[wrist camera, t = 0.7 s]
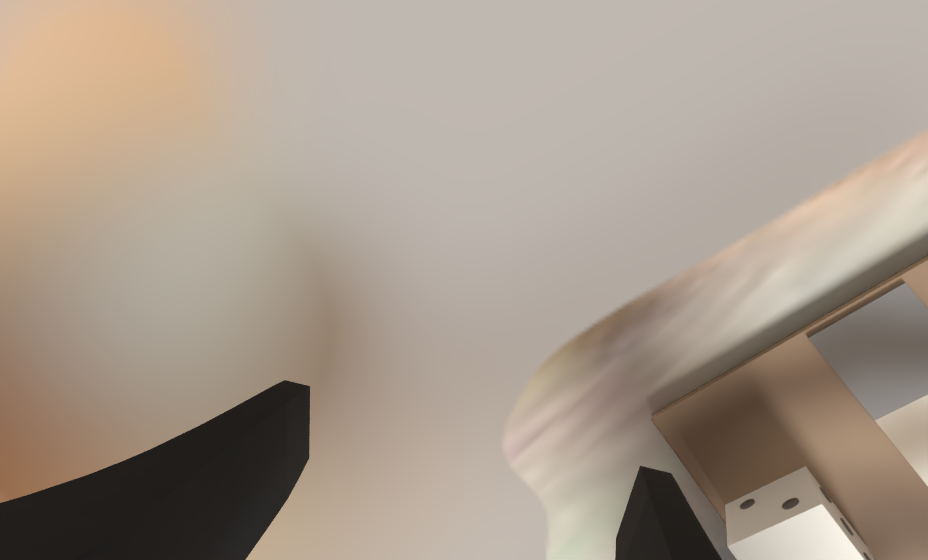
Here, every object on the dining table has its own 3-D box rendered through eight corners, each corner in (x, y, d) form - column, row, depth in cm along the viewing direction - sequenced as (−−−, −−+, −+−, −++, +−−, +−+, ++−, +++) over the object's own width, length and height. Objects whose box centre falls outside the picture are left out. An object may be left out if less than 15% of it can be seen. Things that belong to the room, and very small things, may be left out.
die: (869, 546, 24) (897, 601, 20) (780, 582, 25) (793, 640, 22) (805, 464, 25) (822, 502, 21) (724, 503, 26) (726, 545, 22)
